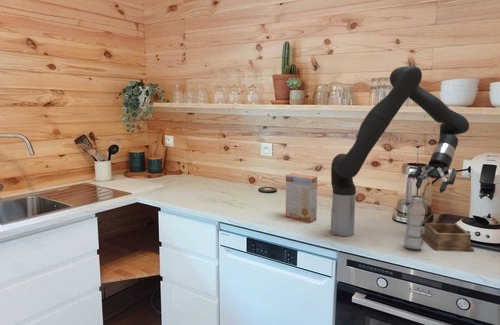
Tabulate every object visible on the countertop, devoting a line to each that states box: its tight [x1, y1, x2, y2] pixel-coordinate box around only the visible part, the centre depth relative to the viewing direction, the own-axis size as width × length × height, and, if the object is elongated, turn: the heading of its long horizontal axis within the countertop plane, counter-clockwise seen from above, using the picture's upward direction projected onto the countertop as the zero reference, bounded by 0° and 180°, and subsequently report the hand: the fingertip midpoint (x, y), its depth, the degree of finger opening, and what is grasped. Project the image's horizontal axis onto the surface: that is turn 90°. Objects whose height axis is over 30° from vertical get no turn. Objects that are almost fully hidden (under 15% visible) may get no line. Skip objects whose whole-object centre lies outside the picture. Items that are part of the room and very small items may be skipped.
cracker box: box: [285, 173, 318, 223], centre depth 167 cm, size 14×6×21 cm, turn 48°
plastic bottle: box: [403, 194, 426, 251], centre depth 132 cm, size 6×7×20 cm
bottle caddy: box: [422, 222, 475, 253], centre depth 138 cm, size 14×14×6 cm
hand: (429, 189), depth 138 cm, fingers open, 8 cm apart
